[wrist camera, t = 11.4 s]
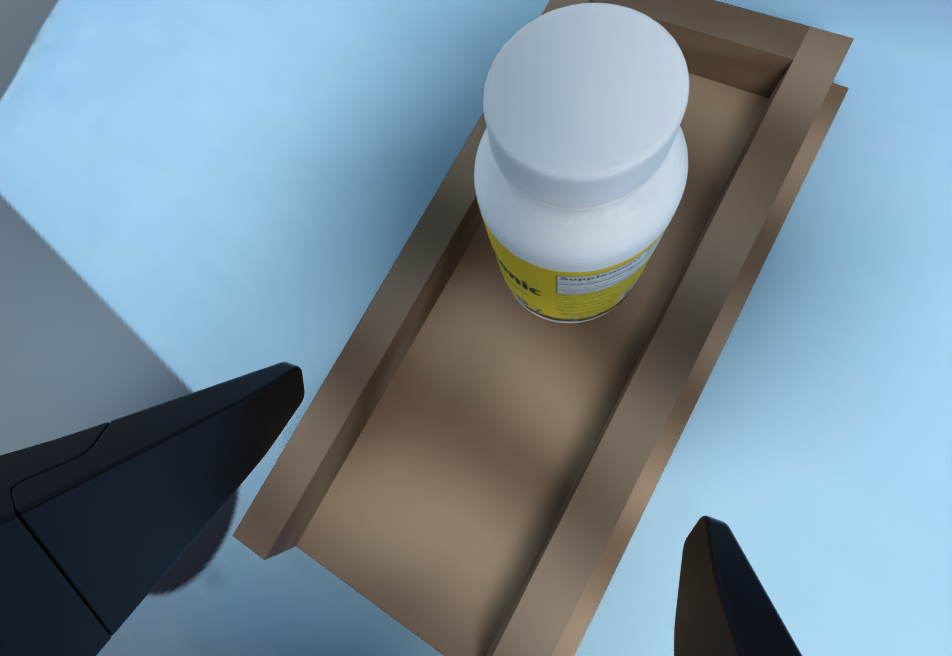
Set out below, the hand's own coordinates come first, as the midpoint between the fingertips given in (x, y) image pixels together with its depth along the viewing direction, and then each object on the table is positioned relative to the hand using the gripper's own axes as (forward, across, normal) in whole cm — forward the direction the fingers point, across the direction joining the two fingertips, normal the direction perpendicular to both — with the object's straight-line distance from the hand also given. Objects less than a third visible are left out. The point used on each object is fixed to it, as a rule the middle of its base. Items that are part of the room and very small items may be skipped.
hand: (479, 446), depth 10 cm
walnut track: (+10, 0, +2) cm, 10 cm away
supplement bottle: (+11, 0, 0) cm, 11 cm away
